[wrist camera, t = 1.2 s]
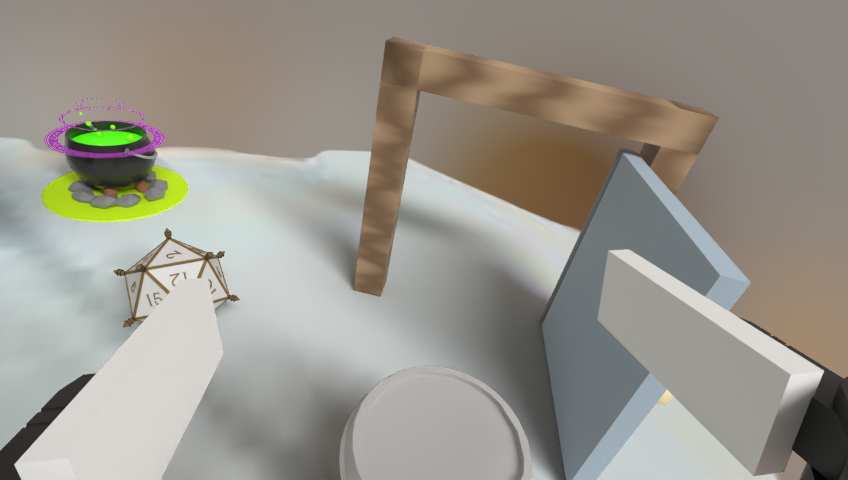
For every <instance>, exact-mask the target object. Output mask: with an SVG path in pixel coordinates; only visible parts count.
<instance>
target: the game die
mask: <svg viewBox="0 0 848 480" xmlns="http://www.w3.org/2000/svg"><path fill="white" fill-rule="evenodd" d="M171 235H172V234H171V231H170V230H168V229H167V228H166V230H165V236H166V238H167V239H166V240H165V241H164V242H162V243H161V244H160V245H159V246H157V247H156V248H155V249H154V250H152V251H151V252H150V253H149V254H147V255H146V256H145V257H144V258H142V259H141V260H140V261H139V262H137V263H136V264H135V265H134V266H132V267H131V268H130V269H129V270H127V271H126V272H125V271H124V270H121V269H118V270H114V272H115V273H116V274H117V276H118V275H120V276H123V275H124V276H125V279H126V285H127V290H128V296H129V301H130V307H131V312H132V318H131V319H128V320H127V321H125V323H124V326H123V327H127V326H131V325H132V324H134V322H135V321H139V322H143V321H144V320H145V319H146V318H147V317H148V316H149V315H150V314H151V312H152V311H153V310H154V309H155V308H156V307H157V306H158V305H159V304H160V302H161V301H162V300H163V299H164V298H165V297H166V296H167V295H168V294H169V293H170V291H171V290H172V289H173V288H174V287H175V286H176V285H177V284H178V283H179V281H180V280H182V279H196V278H208V281H209V285H210V290H211V295H212V299H213V304H214V309H215V310H216V309H217V308H218V307H220V306H221V305H222V304H223V303H224V302H225V301H226V300H228V299H230V300H231V301H237V300H240V299H239V298H238V297H237V296H234V295H229V292H228V288H227V285H226V282H225V278H224V275H223V272H222V268H221V265H220V262H219V258H222V256H223V257H224V253H225V251H224V252H219V253H217V255H213V252H205V251H203V250H200V249H198V248H195V247H192V246H190V245H187V244H185V243H182V242H180V241H177V240H175V239H172V238H171Z"/></svg>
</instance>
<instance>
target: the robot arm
mask: <svg viewBox="0 0 848 480" xmlns="http://www.w3.org/2000/svg"><path fill="white" fill-rule="evenodd" d="M597 320H598V321H599V322H600V323H601V324H602V325H603V326H604V327H605V328H606V329H607V330H608V331H609V332H610V333H611V334H612V335H613V336H614V337H615V338H616V339H617V340H618V341H619V342H620V343H621V344H622V345H623V346H624V347H625V348H626V349H627V350H628V351H629V352H630V353H631V354H632V355H633V356H634V357H635V358H636V359H637V360H638V361H639V362H640V363H641V364H642V365H643V366H644V367H645V368H646V369H647V370H648V371H649V372H650V373H651V374H652V375H653V376H654V377H655V378H656V379H657V380H658V381H659V382H660V383H661V384H662V385H663V386H664V387H665V388H666V389H667V390H668V391H669V392H670V393H671V394H672V395H673V396H674V397H675V398H676V399H677V400H678V401H679V402H680V403H681V404H682V405H683V406H684V407H685V408H686V409H687V410H688V411H689V412H690V413H691V414H692V415H693V416H694V417H695V418H696V419H697V420H698V421H699V422H700V423H701V424H702V425H703V426H704V427H705V428H706V429H707V430H708V431H709V432H710V433H711V434H712V435H713V436H714V437H715V438H716V439H717V440H718V441H719V442H720V443H721V444H722V445H723V446H724V447H725V448H726V449H727V450H728V451H729V452H730V453H731V454H732V455H733V456H734V457H735V458H736V459H737V460H738V461H739V462H740V463H741V464H742V465H743V466H744V467H745V468H746V469H747V470H748V471H749V472H750V473H751V474H752V475H753V476H758V475H765V474H772V473H778V472H784V470H785V468H786V465H787V463H788V460H789V458H790V455H791V453H792V450H793V451H795V452H796V453H797V454H798V455H799V456H801V457H802V458H803V459H804V460H805V461H806V462H807V464H806V466H805V468H804V471H803V473H802V476H801V478H800V480H848V377H846V378H845V379H843V378H842V377H840V376H838V375H837V374H835V373H834V372H832V371H830V370H828V369H827V368H825V367H824V366H822V365H821V364H819V363H817V362H816V361H814V360H812V359H811V358H809V357H808V356H806V355H804V354H803V353H801V352H799V351H798V350H796V349H794V348H792V347H791V346H786V343H785V342H783V341H781V340H780V339H778V338H777V337H775V336H771V334H770V333H768V332H767V331H765V330H764V329H762V328H760V327H759V326H757V325H755V324H753V323H752V322H750V321H747V320H745V319H742V318H740V317H737V316H735V315H734V314H732V313H730V312H729V311H727V310H726V309H724V308H722V307H721V306H719V305H718V304H716V303H714V302H713V301H711V300H710V299H708V298H706V297H705V296H703V295H702V294H700V293H698V292H697V291H695V290H694V289H692V288H690V287H689V286H687V285H685V284H684V283H682V282H681V281H679V280H677V279H676V278H674V277H673V276H671V275H669V274H668V273H666V272H665V271H663V270H661V269H660V268H658V267H657V266H655V265H653V264H652V263H650V262H649V261H647V260H645V259H644V258H642V257H641V256H639V255H637V254H636V253H634V252H632V251H631V250H629V249H624V250H609V251H608V255H607V262H606V268H605V275H604V281H603V287H602V294H601V300H600V306H599V313H598V319H597ZM223 354H224V351H223V346H222V341H221V337H220V332H219V327H218V323H217V318H216V313H215V309H214V304H213V299H212V295H211V290H210V285H209V281H208V278H196V279H182V280H180V281H179V283H178V284H177V285H176V286H175V287H174V288H173V289H172V290H171V291H170V293H169V294H168V295H167V296H166V297H165V298H164V299H163V300H162V301H161V302H160V304H159V305H158V306H157V307H156V308H155V309H154V310H153V311H152V312H151V314H150V315H149V316H148V317H147V318H146V319H145V320H144V321H143V322H142V324H141V325H140V326H139V327H138V328H137V329H136V330H135V331H134V332H133V333H132V335H131V336H130V337H129V338H128V339H127V340H126V341H125V342H124V343H123V345H122V346H121V347H120V348H119V349H118V350H117V351H116V352H115V353H114V355H113V356H112V357H111V358H110V359H109V360H108V361H107V362H106V363H105V364H104V366H103V367H102V368H101V369H100V370H99V371H98V372H97V373H96V374H87V375H82V376H81V377H79V378H78V379H76V380H75V381H73V382H72V383H70V384H69V385H67V386H66V387H64V388H63V389H61V390H59V391H58V392H57V393H56V394H55V395H54V396H53V397H52V398H51V399H50V400H49V402H48V403H47V404H46V405H45V406H44V407H43V408H42V409H41V412H38V413H37V414H36V415H35V416H34V417H33V418H32V419H31V420H30V421H29V422H28V423H27V426H26V428H22V429H21V430H20V431H19V432H18V433H17V434H16V435H15V436H14V437H13V438H12V440H11V441H10V442H9V443H8V444H7V445H6V446H5V447H4V448H3V449H2V450H1V451H0V480H161V479H162V477H163V475H164V473H165V471H166V469H167V467H168V465H169V463H170V461H171V459H172V457H173V455H174V453H175V451H176V449H177V447H178V445H179V443H180V441H181V439H182V437H183V435H184V433H185V431H186V429H187V427H188V425H189V423H190V421H191V419H192V417H193V415H194V412H195V410H196V408H197V406H198V404H199V402H200V400H201V398H202V396H203V394H204V392H205V390H206V388H207V386H208V384H209V382H210V380H211V378H212V376H213V374H214V372H215V370H216V368H217V366H218V364H219V362H220V360H221V358H222V356H223Z"/></svg>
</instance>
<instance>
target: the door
mask: <svg viewBox="0 0 848 480" xmlns="http://www.w3.org/2000/svg"><path fill="white" fill-rule="evenodd" d="M638 156H639V154H638V153H636V152H634V151H632V150H629V149H625V148H620V149H619V152H618V154H617V156H616V158H615V160H614V162H613V164H612V167H611V169H610V171H609V173H608V175H607V177H606V179H605V182H604V184H603V186H602V188H601V190H600V193H599V195H598V197H597V199H596V201H595V203H594V205H593V207H592V209H591V212H590V214H589V216H588V218H587V220H586V222H585V225H584V227H583V229H582V231H581V233H580V235H579V237H578V240H577V242H576V244H575V246H574V248H573V250H572V252H571V255H570V257H569V259H568V261H567V263H566V265H565V267H564V270H563V272H562V274H561V276H560V278H559V280H558V283H557V285H556V287H555V289H554V291H553V293H552V295H551V298H550V300H549V302H548V304H547V306H546V308H545V310H544V313H543V315H542V317H541V319H540V321H541V323H542V331H543V337H544V344H545V350H546V356H547V363H548V369H549V376H550V382H551V388H552V395H553V401H554V407H555V414H556V420H557V426H558V433H559V439H560V446H561V452H562V458H563V465H564V471H565V477H566V480H596V479H597V478H598V477H599V475H600V474H601V473H602V472H603V470H604V469H605V468H606V466H607V465H608V464H609V463H610V461H611V460H612V459H613V458H614V456H615V455H616V454H617V452H618V451H619V450H620V449H621V447H622V446H623V445H624V444H625V442H626V441H627V440H628V438H629V437H630V436H631V435H632V433H633V432H634V431H635V430H636V428H637V427H638V426H639V424H640V423H641V422H642V421H643V419H644V418H645V417H646V416H647V414H648V413H649V412H650V410H651V409H652V408H653V407H654V405H655V404H656V403H658V404H662V405H666V404H668V403H669V402H670V401H671V399H672V397H673V395H672V394H671V393H670V392H669V391H668V390H667V389H666V388H665V387H664V386H663V385H662V384H661V383H660V382H659V381H658V380H657V379H656V378H655V377H654V376H653V375H652V374H651V373H650V372H649V371H648V370H647V369H646V368H645V367H644V366H643V365H642V364H641V363H640V362H639V361H638V360H637V359H636V358H635V357H634V356H633V355H632V354H631V353H630V352H629V351H628V350H627V349H626V348H625V347H624V346H623V345H622V344H621V343H620V342H619V341H618V340H617V339H616V338H615V337H614V336H613V335H612V334H611V333H610V332H609V331H608V330H607V329H606V328H605V327H604V326H603V325H602V324H601V323H600V322H599V321H598V320H597V319H598V313H599V306H600V300H601V294H602V287H603V281H604V275H605V268H606V262H607V255H608V251H609V250H624V249H629V250H631V251H632V252H634V253H636V254H637V255H639V256H641V257H642V258H644V259H645V260H647V261H649V262H650V263H652V264H653V265H655V266H657V267H658V268H660V269H661V270H663V271H665V272H666V273H668V274H669V275H671V276H673V277H674V278H676V279H677V280H679V281H681V282H682V283H684V284H685V285H687V286H689V287H690V288H692V289H694V290H695V291H697V292H698V293H700V294H702V295H703V296H705V297H706V298H708V299H710V300H711V301H713V302H714V303H716V304H718V305H719V306H721V307H722V308H724V309H726V310H727V311H729V310H730V309H731V307H732V306H733V305H734V304H735V302H736V301H737V300H738V298H739V297H740V296H741V295H742V293H743V292H744V291H745V290H746V288H747V287H748V286H749V284H750V283H751V282H750V281H749V280H748V279H747V278H746V277H745V275H744V274H743V273H742V272H741V271H740V270H739V269H738V267H736V265H735V264H734V263H733V262H732V261H731V260H730V258H729V257H728V256H727V255H726V254H725V253H724V252H723V251H722V249H721V248H720V247H719V246H718V245H717V244H716V242H715V241H714V240H713V239H712V238H711V237H710V236H709V234H708V233H707V232H706V231H705V230H704V229H703V228H702V226H701V225H700V224H699V223H698V222H697V221H696V220H695V218H694V217H693V216H692V215H691V214H690V213H689V212H688V211H687V209H686V208H685V207H684V206H683V205H682V204H681V203H680V202H679V200H678V199H677V198H676V197H675V196H674V195H673V193H672V192H671V191H670V190H669V189H668V188H667V187H666V185H665V184H664V183H663V182H662V181H661V180H660V179H659V177H658V176H657V175H656V174H655V173H654V172H653V171H652V170H651V168H650V167H649V166H648V165H647V164H646V163H645V162H644V160H643V159H642V158H641V157H638Z"/></svg>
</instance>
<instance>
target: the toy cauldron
mask: <svg viewBox="0 0 848 480" xmlns="http://www.w3.org/2000/svg"><path fill="white" fill-rule="evenodd" d="M82 101H83V100H82ZM123 104H124V103H123ZM77 106H78V105H77ZM86 108H88V107H86ZM89 108H90V107H89ZM81 109H83V108H81ZM123 109H124V108H123ZM76 110H78V109H76ZM108 110H109V109H108ZM126 110H127V109H126ZM73 111H74V110H73ZM70 112H71V111H70ZM133 112H134V111H133ZM68 113H69V112H68ZM66 114H67V113H66ZM79 114H80V115H82V113H79ZM139 115H140V113H139ZM140 116H141V115H140ZM144 118H145V117H144ZM144 118H142V120H143V119H144ZM62 119H63V115H62ZM59 120H61V118H59ZM62 121H63V120H62ZM60 122H61V121H60ZM125 122H126V121H125ZM125 122H117V121H99V122H94V121H92V122H89V121H87V122H86V123H84V122H83V123H81V122H80V123H81V124H78V123H77V124H75V126H73V125H67V124H65V123H64V121H63V123H64V125H66V126H67V127H66V126H64V128H63V127H62V128H61V129H60V130H61V131H59V130H58V129H59V128H58V129H56V130H57V131H55V132H58V135H57V134H56V133H55V132H54V131H53V132H54V133H53V135H52V134H51V133H50V134H51V135H52V136H51V135H50V134H49V133H48V134H49V135H50V137H49V143H50V145H51V146H52V147H54V148H56V149H58V148H60V147H61V149H58V150H60V151H59V152H60V153H61V151H63V152H62V153H63V154H64V153H65V156H66V160H67V163H68V164H69V166H70V167H71V168H72V170H73V171H74V172H71V173H68V174H65V175H63V176H61V177H59V178H57V179H55V180H54V181H52V182H51V183H49V184H48V185H47V187H46V188H45V189H44V190H43V193H42V201H43V204H44V205H45V206H46V207H47V208H48V209H49V210H51V211H52V212H54V213H56V214H58V215H61V216H64V217H67V218H71V219H76V220H83V221H92V222H113V221H125V220H132V219H138V218H143V217H147V216H151V215H154V214H157V213H160V212H163V211H165V210H167V209H169V208H171V207H173V206H175V205H176V204H178V203H179V202H180V201H182V200H183V198H184V197H185V196H186V194H187V191H188V186H187V183H186V181H185V180H184V178H182V177H181V176H180V175H179V174H177V173H175V172H173V171H170V170H168V169H165V168H161V167H156V166H153V165H154V162H155V158H156V157H157V152H156V150H155V147H154V146H153V145H152V144H153V143H154V145H155V146H156V145H157V146H160V144H161V143H160V144H159V142H160V139H161V137H160V136H161V135H162V134H161V135H160V136H159V134H160V133H161V132H160V131H159V132H160V133H158V131H156V132H155V130H154V129H153V130H154V133H155V135H154V133H152V132H153V130H152V128H150V129H151V130H149V129H146V128H147V125H146V126H144V125H143V126H141V125H140V124H141V123H138V124H139V125H138V124H134V123H128V122H126V123H125ZM143 122H144V120H143ZM69 127H70V129H68V128H69ZM144 127H146V128H144ZM143 128H144V129H143ZM62 129H66V130H64V131H66V133H65V146H64V147H63V146H61V145H60V144H59V143H58V140H57V139H58V136H59V135H60V134H61V133H63V132H64V131H63V130H62ZM145 129H146V130H148V131H150V132H151V133H152V134H153V135H154V140H153V142H152V143H151V141H150V140H149V138H148V137H147V135H146V131H145ZM49 135H48V136H49ZM54 135H55V136H54ZM156 135H157V136H156ZM163 135H164V134H163ZM163 135H162V138H163V137H164V136H163ZM46 136H47V135H46ZM48 136H47V138H48ZM56 137H57V139H56ZM156 137H158V138H159V139H158V138H156ZM50 138H53V139H50ZM55 139H56V140H55ZM156 139H158V141H157V140H156ZM164 139H165V137H164ZM164 139H162V141H163V140H164ZM44 140H45V139H44ZM44 142H45V141H44ZM46 142H47V139H46ZM52 142H54V143H52ZM163 142H164V141H163ZM55 143H57V144H58V145H60V147H59V146H58V147H56V146H57V145H56V144H55ZM157 143H158V144H159V145H158V144H157ZM45 144H46V143H45ZM47 144H48V143H47ZM47 144H46V145H47ZM53 144H55V146H54V145H53ZM48 145H49V144H48ZM50 145H49V146H50ZM49 146H48V147H49ZM51 146H50V147H51ZM157 146H156V148H157ZM62 147H63V149H62ZM54 148H53V149H54ZM53 149H52V150H53ZM56 149H55V150H56ZM58 150H56V151H57V152H58Z"/></svg>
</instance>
